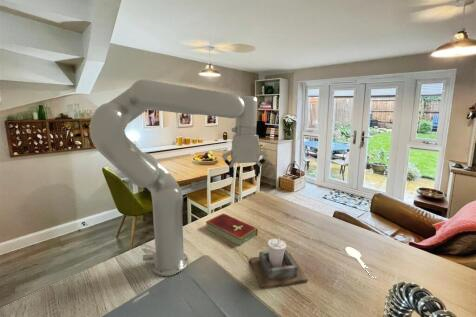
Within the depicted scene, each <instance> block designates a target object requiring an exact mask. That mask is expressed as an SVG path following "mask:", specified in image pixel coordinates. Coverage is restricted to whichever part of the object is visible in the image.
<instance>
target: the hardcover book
mask: <svg viewBox="0 0 476 317" xmlns="http://www.w3.org/2000/svg"><path fill="white" fill-rule="evenodd" d="M205 223H206V229H207V230H210V232H213V233H215V234H216V235H219V236H221V237H222V238H225V239H226V240H228V241H230V242H232V243H233V244H235V245H237V246H239V247H240V246H242V245H244V244H245V243H247V242H248V241H249V240H251V239H252V238H254V237H256V236H258V230H259V229H258V227H255V226H253V225H251V224H249V223H247V222H244V221H241V220H240V219H237V218H235V217H232V216H231V215H228V214H226V213H221V214H219V215H216V216H215V217H213V218H211V219H209V220H206V221H205Z"/></svg>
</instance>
